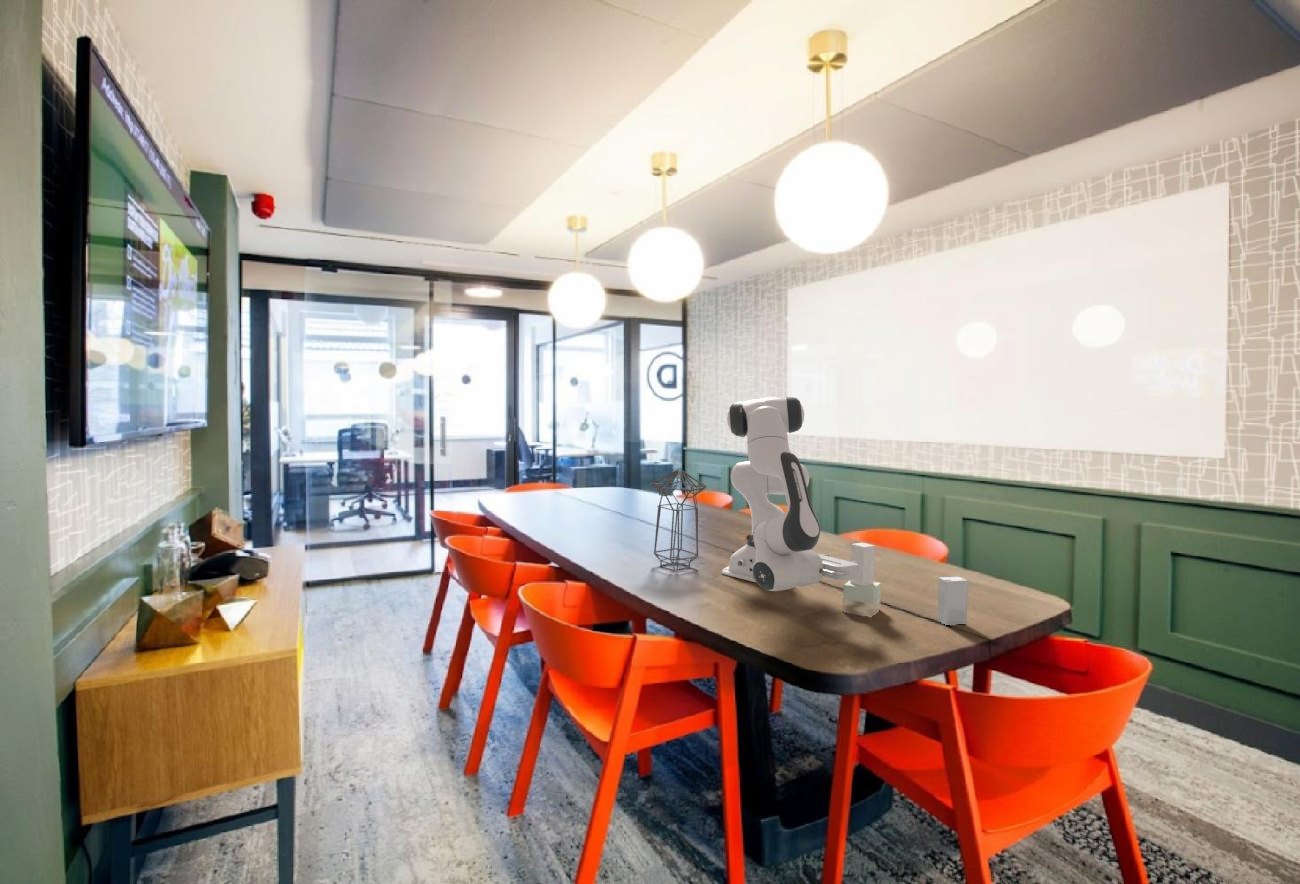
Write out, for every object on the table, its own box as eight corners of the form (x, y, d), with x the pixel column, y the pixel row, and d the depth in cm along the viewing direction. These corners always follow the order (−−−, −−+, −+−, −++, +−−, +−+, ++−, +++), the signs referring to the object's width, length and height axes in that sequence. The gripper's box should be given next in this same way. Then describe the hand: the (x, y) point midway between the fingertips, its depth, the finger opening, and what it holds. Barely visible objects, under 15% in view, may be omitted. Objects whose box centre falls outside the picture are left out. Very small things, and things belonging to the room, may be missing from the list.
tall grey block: (862, 586, 172) (864, 547, 171) (849, 582, 176) (851, 544, 175) (873, 584, 174) (875, 545, 173) (860, 580, 178) (862, 542, 177)
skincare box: (957, 620, 168) (959, 575, 167) (967, 626, 164) (969, 580, 163) (935, 620, 168) (937, 576, 167) (945, 626, 163) (946, 580, 162)
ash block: (842, 612, 175) (842, 598, 174) (851, 605, 181) (852, 591, 181) (871, 618, 170) (871, 604, 170) (879, 611, 176) (880, 597, 176)
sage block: (843, 598, 174) (843, 584, 174) (851, 592, 181) (852, 578, 180) (872, 604, 170) (873, 589, 169) (880, 596, 176) (880, 582, 176)
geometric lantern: (676, 559, 233) (680, 466, 231) (706, 569, 221) (710, 471, 219) (644, 565, 223) (647, 468, 221) (673, 576, 211) (677, 473, 209)
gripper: (839, 563, 153) (874, 556, 161) (778, 548, 170) (812, 542, 178) (838, 589, 154) (873, 580, 161) (777, 571, 170) (812, 564, 178)
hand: (841, 560), depth 170 cm, fingers open, 8 cm apart
